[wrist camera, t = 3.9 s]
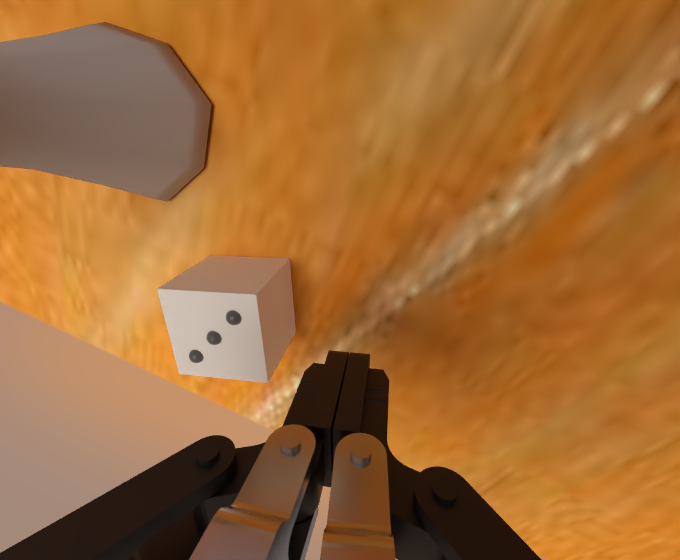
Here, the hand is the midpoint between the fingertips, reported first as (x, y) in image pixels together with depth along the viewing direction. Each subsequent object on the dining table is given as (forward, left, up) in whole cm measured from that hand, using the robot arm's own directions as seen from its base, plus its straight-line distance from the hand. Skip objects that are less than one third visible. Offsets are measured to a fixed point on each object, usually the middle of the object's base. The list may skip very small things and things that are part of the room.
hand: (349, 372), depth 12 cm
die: (+6, 0, -6) cm, 9 cm away
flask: (+11, -9, -6) cm, 15 cm away
